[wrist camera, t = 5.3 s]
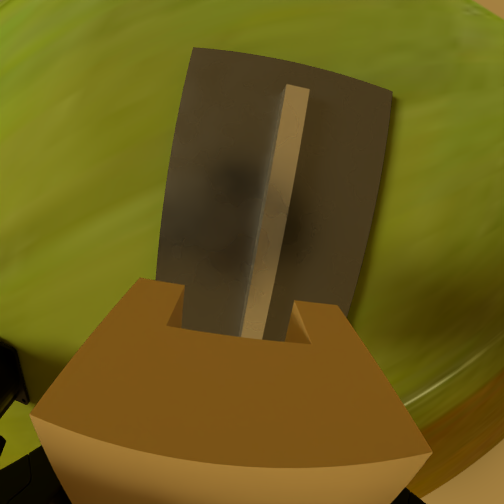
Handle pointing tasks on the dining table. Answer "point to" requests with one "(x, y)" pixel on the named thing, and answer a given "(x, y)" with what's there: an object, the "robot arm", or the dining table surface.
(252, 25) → the dining table surface
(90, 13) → the dining table surface
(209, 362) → the block
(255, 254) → the plate
